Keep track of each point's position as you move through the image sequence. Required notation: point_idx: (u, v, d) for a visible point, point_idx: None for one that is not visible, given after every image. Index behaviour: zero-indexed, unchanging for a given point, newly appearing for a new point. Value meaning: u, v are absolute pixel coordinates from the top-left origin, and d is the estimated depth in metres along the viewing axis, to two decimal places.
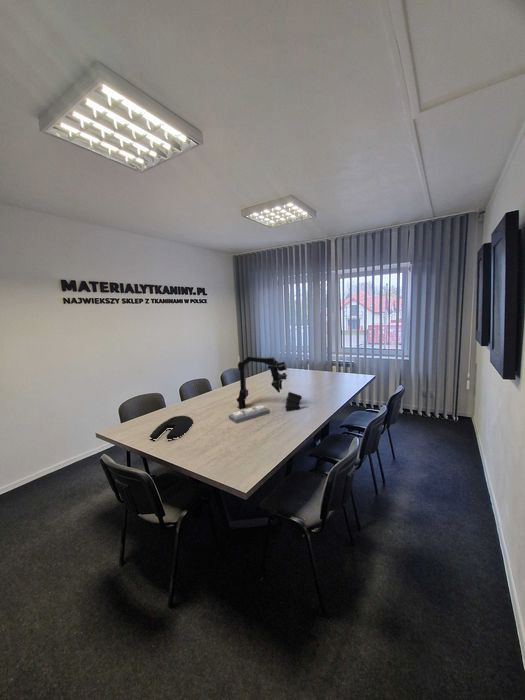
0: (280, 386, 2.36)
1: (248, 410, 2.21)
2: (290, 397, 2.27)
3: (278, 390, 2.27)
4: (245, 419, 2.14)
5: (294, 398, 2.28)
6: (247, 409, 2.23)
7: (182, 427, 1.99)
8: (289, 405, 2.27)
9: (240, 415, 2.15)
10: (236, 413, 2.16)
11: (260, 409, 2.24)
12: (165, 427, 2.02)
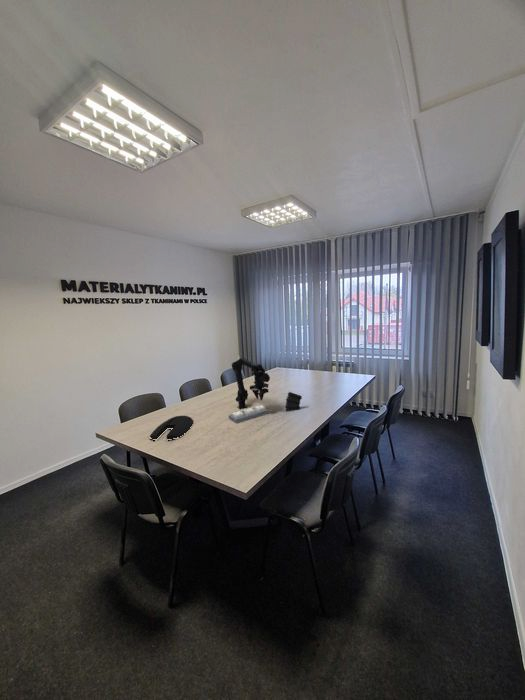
0: (257, 395, 2.29)
1: (248, 410, 2.21)
2: (290, 397, 2.27)
3: (261, 398, 2.24)
4: (245, 419, 2.14)
5: (294, 398, 2.28)
6: (247, 409, 2.23)
7: (182, 427, 1.99)
8: (289, 405, 2.27)
9: (240, 415, 2.15)
10: (236, 413, 2.16)
11: (260, 409, 2.24)
12: (165, 427, 2.02)
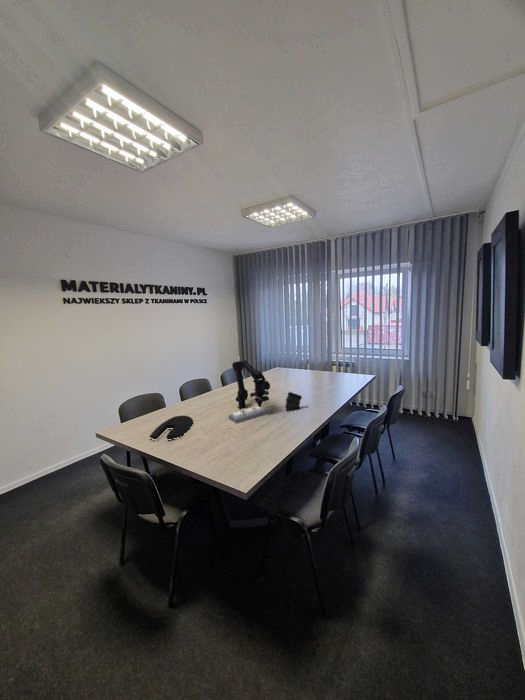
0: None
1: (248, 410, 2.21)
2: (290, 397, 2.27)
3: (260, 405, 2.27)
4: (245, 419, 2.14)
5: (294, 398, 2.28)
6: (247, 409, 2.23)
7: (182, 427, 2.00)
8: (289, 405, 2.27)
9: (240, 415, 2.15)
10: (236, 413, 2.16)
11: (260, 409, 2.24)
12: (165, 427, 2.02)
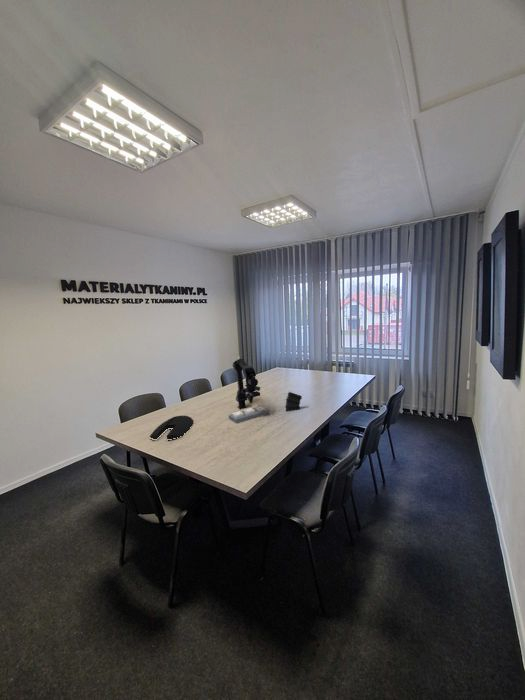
0: None
1: (248, 410, 2.21)
2: (290, 397, 2.27)
3: (251, 401, 2.21)
4: (245, 419, 2.14)
5: (294, 398, 2.28)
6: (247, 409, 2.23)
7: (182, 427, 2.00)
8: (289, 405, 2.27)
9: (240, 415, 2.15)
10: (236, 413, 2.16)
11: None
12: (165, 427, 2.02)
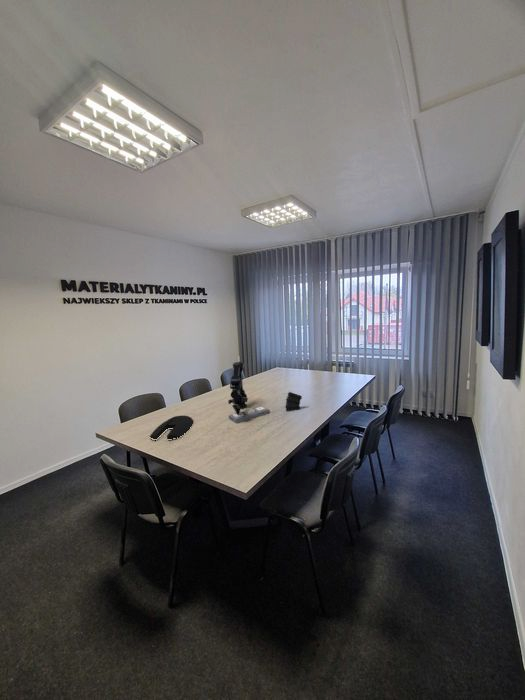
0: None
1: (248, 410, 2.21)
2: (290, 397, 2.27)
3: (238, 412, 2.16)
4: (245, 419, 2.14)
5: (294, 398, 2.28)
6: (247, 409, 2.23)
7: (182, 427, 2.00)
8: (289, 405, 2.27)
9: (240, 416, 2.15)
10: (236, 414, 2.16)
11: None
12: (165, 427, 2.03)
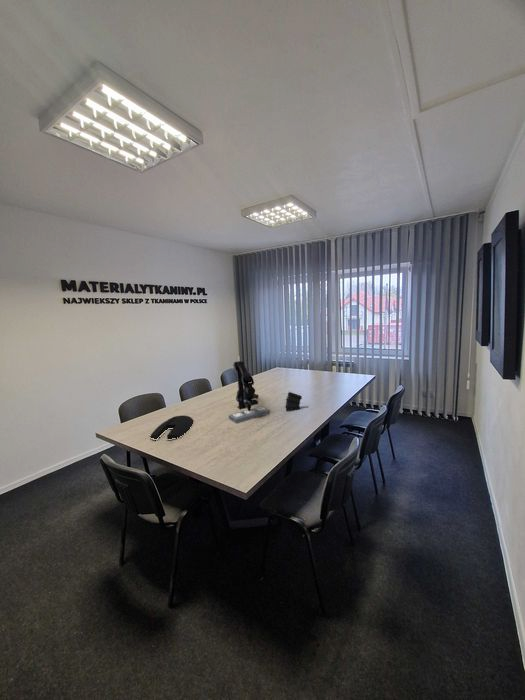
0: None
1: (248, 411, 2.21)
2: (290, 397, 2.27)
3: (249, 408, 2.21)
4: (245, 419, 2.14)
5: (294, 398, 2.28)
6: (247, 410, 2.24)
7: (182, 427, 2.00)
8: (289, 405, 2.27)
9: None
10: (236, 415, 2.16)
11: None
12: (165, 427, 2.03)
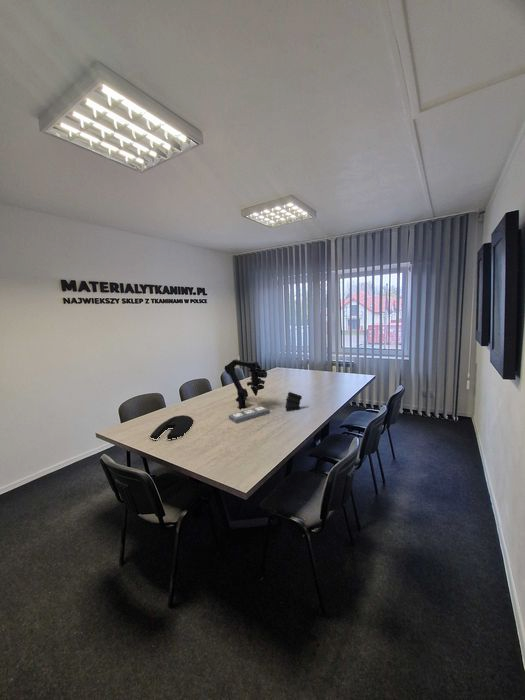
0: None
1: (248, 412, 2.21)
2: (290, 397, 2.27)
3: (256, 393, 2.34)
4: (245, 419, 2.14)
5: (294, 398, 2.28)
6: (247, 411, 2.24)
7: (182, 427, 2.00)
8: (289, 405, 2.27)
9: None
10: (236, 415, 2.16)
11: None
12: (166, 427, 2.03)
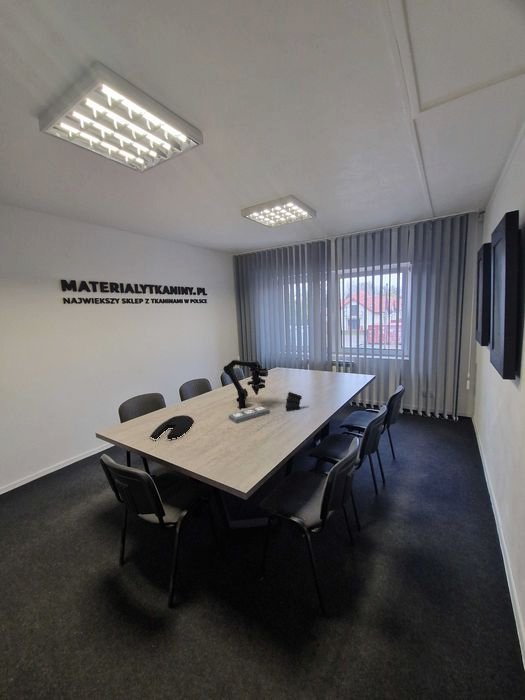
0: None
1: (248, 412, 2.21)
2: (290, 397, 2.27)
3: (257, 392, 2.36)
4: (245, 419, 2.14)
5: (294, 398, 2.28)
6: (247, 411, 2.24)
7: (182, 427, 2.00)
8: (289, 405, 2.27)
9: None
10: (236, 415, 2.16)
11: None
12: (166, 427, 2.03)
